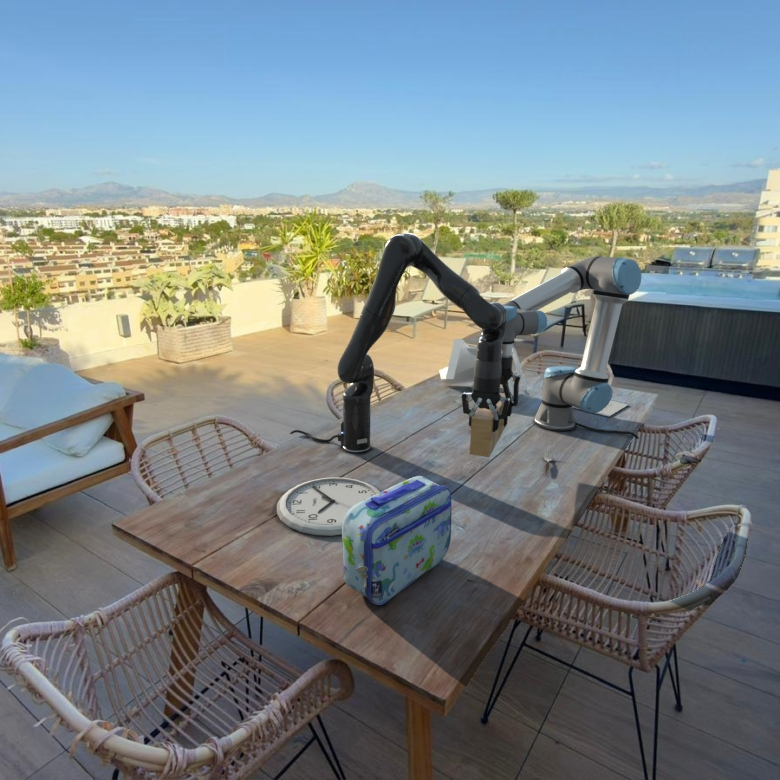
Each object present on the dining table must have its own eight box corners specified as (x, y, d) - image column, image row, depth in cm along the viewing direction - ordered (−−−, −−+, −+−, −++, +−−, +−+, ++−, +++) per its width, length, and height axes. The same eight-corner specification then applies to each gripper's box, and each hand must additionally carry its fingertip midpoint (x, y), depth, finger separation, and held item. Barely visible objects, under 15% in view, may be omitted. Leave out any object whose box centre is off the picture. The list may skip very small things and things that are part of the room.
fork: (541, 474, 162) (542, 468, 162) (545, 454, 177) (545, 449, 176) (550, 476, 162) (550, 470, 161) (553, 456, 176) (553, 450, 175)
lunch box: (371, 618, 102) (371, 524, 95) (336, 591, 109) (334, 502, 103) (455, 562, 119) (460, 479, 113) (420, 542, 126) (423, 463, 120)
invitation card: (608, 416, 214) (573, 407, 224) (608, 416, 214) (573, 408, 224) (628, 404, 229) (594, 396, 238) (628, 405, 229) (594, 397, 238)
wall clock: (392, 527, 129) (268, 531, 127) (391, 533, 130) (269, 537, 127) (383, 473, 158) (282, 475, 155) (383, 478, 158) (282, 480, 156)
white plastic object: (461, 429, 252) (437, 405, 227) (444, 352, 274) (420, 323, 250) (535, 404, 240) (518, 377, 215) (510, 326, 262) (492, 293, 237)
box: (488, 424, 177) (490, 391, 174) (505, 426, 175) (508, 394, 172) (469, 454, 154) (471, 417, 150) (489, 457, 151) (492, 420, 148)
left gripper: (459, 374, 147) (456, 430, 152) (510, 380, 142) (505, 437, 147) (465, 368, 154) (462, 421, 159) (515, 373, 149) (510, 428, 154)
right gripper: (468, 354, 166) (464, 422, 173) (529, 361, 159) (522, 431, 166) (474, 349, 172) (469, 415, 179) (532, 355, 166) (526, 423, 173)
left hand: (483, 429), depth 153 cm, fingers closed on box, 6 cm apart
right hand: (495, 423), depth 173 cm, fingers closed on box, 6 cm apart
